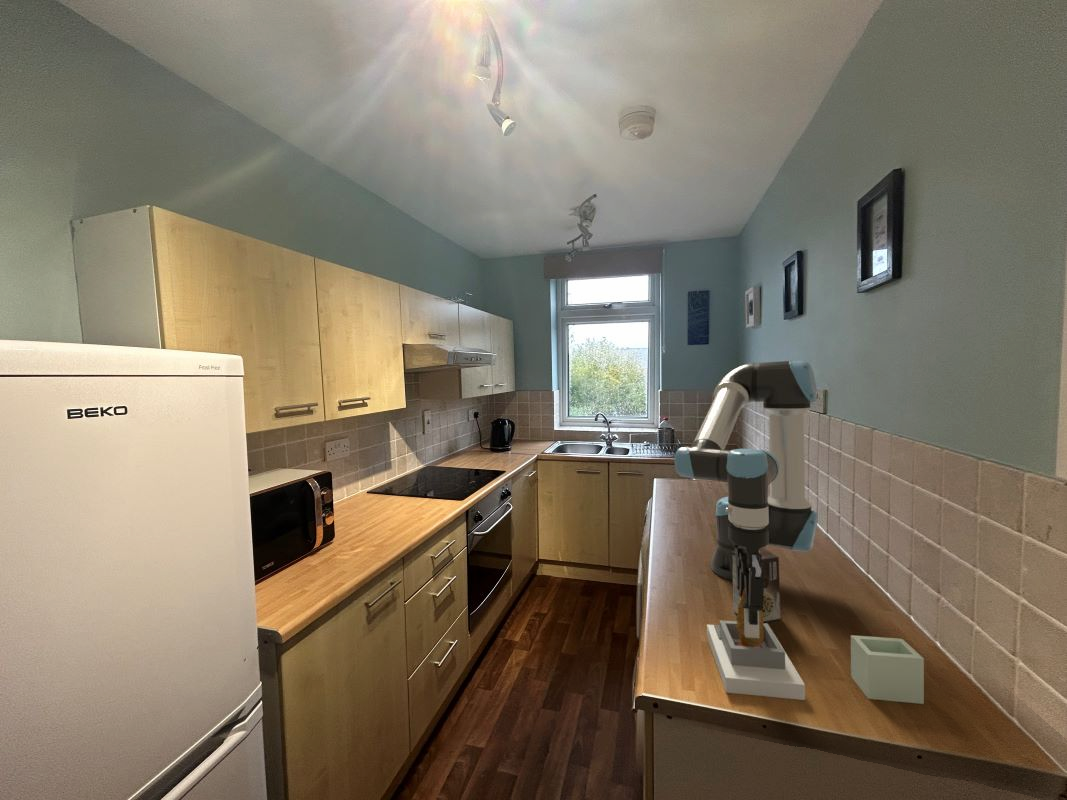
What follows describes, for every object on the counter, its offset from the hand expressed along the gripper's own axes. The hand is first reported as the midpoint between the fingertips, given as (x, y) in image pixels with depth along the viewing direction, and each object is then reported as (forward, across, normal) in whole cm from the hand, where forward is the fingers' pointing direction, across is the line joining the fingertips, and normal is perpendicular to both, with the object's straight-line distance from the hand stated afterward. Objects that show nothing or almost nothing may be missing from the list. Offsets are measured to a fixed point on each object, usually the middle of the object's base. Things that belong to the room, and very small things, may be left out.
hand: (749, 632), depth 90 cm
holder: (+7, +4, +23) cm, 24 cm away
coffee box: (+7, -20, +7) cm, 22 cm away
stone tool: (+4, 0, 0) cm, 4 cm away
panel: (+7, 0, 0) cm, 7 cm away
